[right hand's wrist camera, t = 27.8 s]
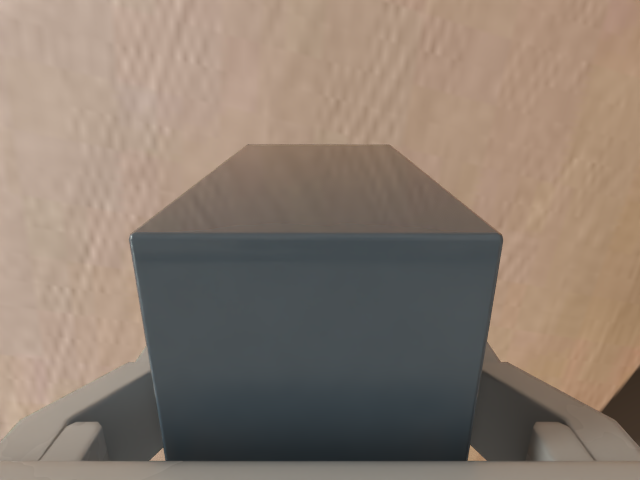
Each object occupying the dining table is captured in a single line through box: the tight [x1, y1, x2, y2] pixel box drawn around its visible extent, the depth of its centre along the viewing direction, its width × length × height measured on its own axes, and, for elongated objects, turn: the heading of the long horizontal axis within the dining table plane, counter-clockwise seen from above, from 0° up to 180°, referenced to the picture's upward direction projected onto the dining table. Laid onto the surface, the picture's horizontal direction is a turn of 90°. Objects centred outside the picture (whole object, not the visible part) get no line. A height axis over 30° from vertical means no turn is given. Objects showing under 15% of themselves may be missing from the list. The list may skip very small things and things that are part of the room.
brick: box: [129, 144, 503, 461], centre depth 10 cm, size 4×9×8 cm, turn 0°
